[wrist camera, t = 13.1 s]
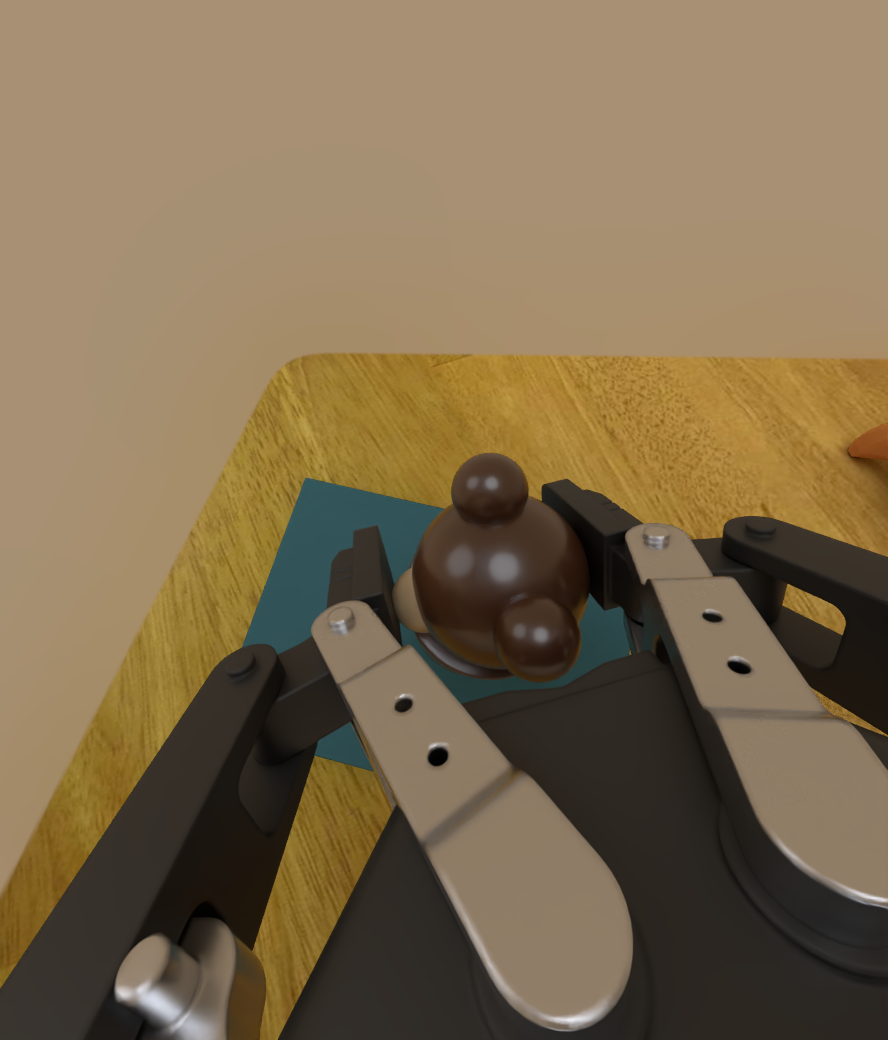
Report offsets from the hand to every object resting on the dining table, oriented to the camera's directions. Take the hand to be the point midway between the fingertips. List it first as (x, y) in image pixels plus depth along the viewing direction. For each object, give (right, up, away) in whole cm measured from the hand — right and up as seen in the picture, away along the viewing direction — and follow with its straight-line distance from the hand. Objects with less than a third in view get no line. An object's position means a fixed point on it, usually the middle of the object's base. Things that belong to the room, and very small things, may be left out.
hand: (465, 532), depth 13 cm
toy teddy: (+1, -4, +6) cm, 7 cm away
